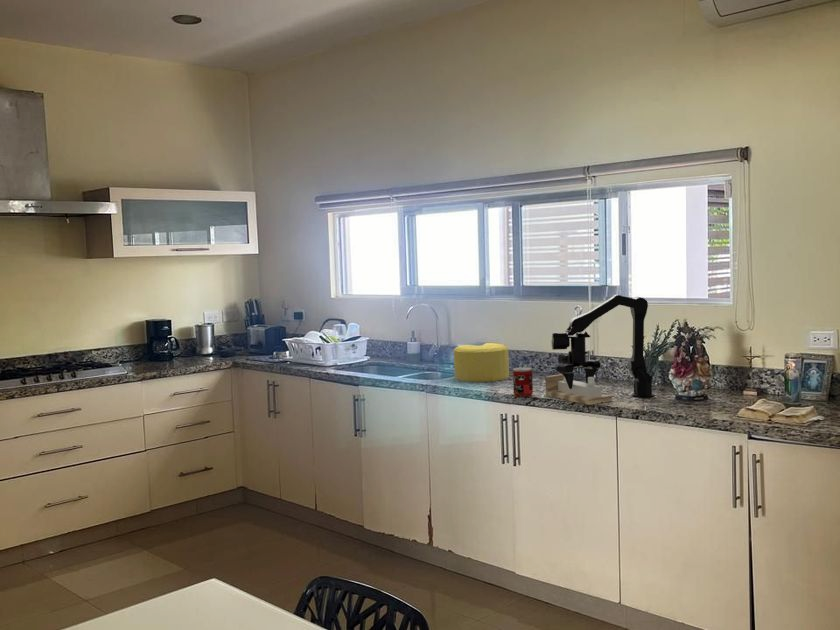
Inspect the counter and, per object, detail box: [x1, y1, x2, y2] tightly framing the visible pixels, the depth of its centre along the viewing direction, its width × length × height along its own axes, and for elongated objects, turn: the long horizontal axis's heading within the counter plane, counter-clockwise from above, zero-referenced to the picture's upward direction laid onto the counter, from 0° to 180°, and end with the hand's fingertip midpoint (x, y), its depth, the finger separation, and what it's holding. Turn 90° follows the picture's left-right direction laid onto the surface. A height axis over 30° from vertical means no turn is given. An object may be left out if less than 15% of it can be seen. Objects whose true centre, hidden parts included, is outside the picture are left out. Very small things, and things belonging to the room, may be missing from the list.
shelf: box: [545, 373, 613, 406], centre depth 317 cm, size 26×12×8 cm, turn 31°
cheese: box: [453, 342, 510, 383], centre depth 378 cm, size 26×26×15 cm
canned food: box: [512, 366, 534, 397], centre depth 329 cm, size 8×8×11 cm
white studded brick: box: [558, 376, 603, 398], centre depth 316 cm, size 20×6×8 cm, turn 27°
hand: (579, 387), depth 316 cm, fingers open, 9 cm apart
